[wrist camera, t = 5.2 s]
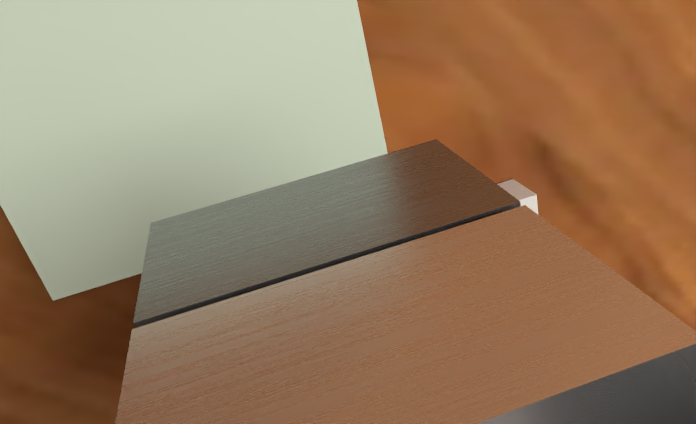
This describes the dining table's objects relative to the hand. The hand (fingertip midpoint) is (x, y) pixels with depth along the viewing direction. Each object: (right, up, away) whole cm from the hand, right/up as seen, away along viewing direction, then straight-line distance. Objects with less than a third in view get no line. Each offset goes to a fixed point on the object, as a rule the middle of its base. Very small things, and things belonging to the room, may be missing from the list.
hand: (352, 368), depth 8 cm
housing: (0, 0, +1) cm, 1 cm away
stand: (-5, +6, +7) cm, 10 cm away
